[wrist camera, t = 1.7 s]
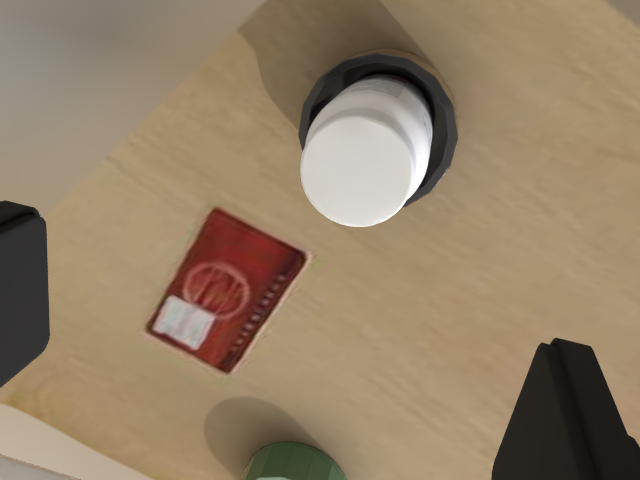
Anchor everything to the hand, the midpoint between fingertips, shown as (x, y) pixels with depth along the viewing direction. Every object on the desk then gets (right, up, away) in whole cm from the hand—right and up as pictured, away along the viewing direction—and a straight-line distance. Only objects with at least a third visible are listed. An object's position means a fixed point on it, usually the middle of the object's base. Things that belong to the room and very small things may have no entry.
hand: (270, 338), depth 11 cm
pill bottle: (+4, +7, +17) cm, 19 cm away
